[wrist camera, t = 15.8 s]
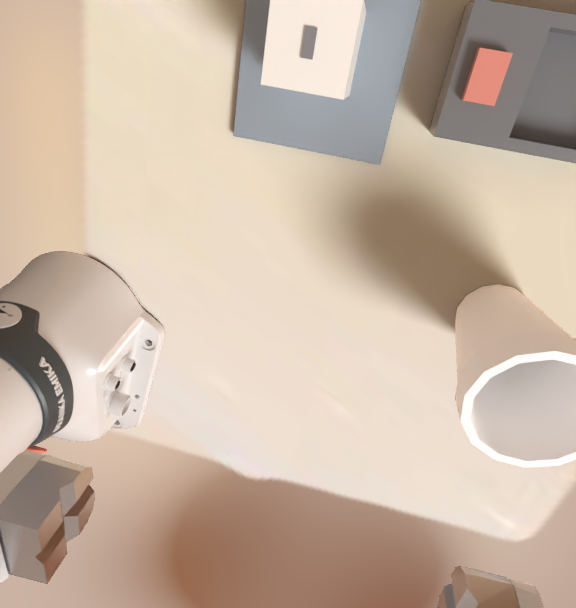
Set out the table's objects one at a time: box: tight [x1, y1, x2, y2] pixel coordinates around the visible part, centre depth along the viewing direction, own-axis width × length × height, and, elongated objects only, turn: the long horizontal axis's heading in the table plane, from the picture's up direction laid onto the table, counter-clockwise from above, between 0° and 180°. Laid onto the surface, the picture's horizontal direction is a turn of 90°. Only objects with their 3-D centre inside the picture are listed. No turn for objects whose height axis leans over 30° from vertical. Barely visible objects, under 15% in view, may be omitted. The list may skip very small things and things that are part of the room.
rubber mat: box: [233, 0, 421, 165], centre depth 32 cm, size 14×12×1 cm
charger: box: [261, 0, 366, 100], centre depth 29 cm, size 5×5×7 cm
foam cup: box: [455, 284, 576, 467], centre depth 34 cm, size 10×9×13 cm
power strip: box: [429, 0, 576, 163], centre depth 29 cm, size 8×12×4 cm, turn 81°
